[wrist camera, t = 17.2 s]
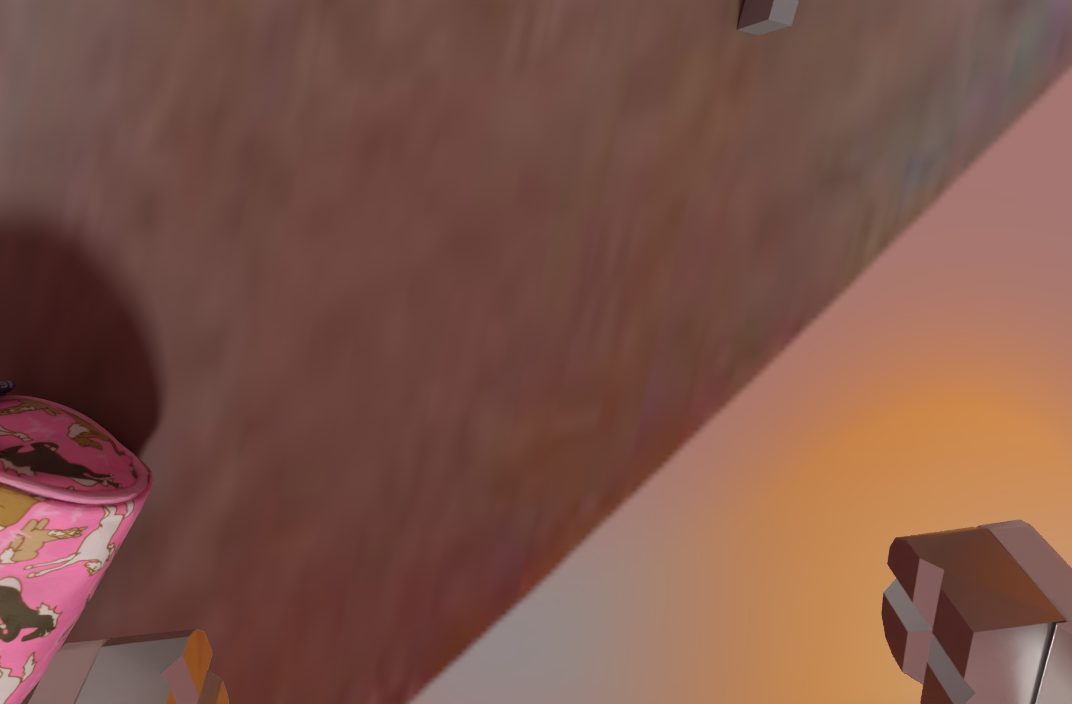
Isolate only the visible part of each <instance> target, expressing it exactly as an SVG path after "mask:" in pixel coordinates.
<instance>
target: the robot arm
mask: <svg viewBox="0 0 1072 704" xmlns="http://www.w3.org/2000/svg"><path fill="white" fill-rule="evenodd" d="M887 564H888V566H889V567H890V569H891V570H892V572H893V573H894V575H895V576H896V579H895V580H894V581H893V582H892V584H891V585H890V586H889V587H888V588H887V589H886V590H885V591H884V593H883V603H882V620H883V625H884V631H885V637H886V640H887V642H888V645H889V647H890V650H891V653H892V655H893V657H894V658H895V660H896V662H897V664H898V665H899V667H900V669H901V671H902V672H904V673H905V674H907V675H909V676H910V677H911V678H913V679H915V680H916V681H918V682H920V683H921V684H923V690H922V696H921V704H1072V568H1071V567H1070V566H1069V565H1068V564H1067V563H1066V562H1065V561H1064V560H1063V558H1062V557H1060V555H1059V554H1057V552H1056V551H1055V550H1054V549H1053V548H1052V547H1051V546H1050V545H1049V544H1048V543H1047V542H1046V540H1045V539H1044V538H1043V537H1042V536H1041V535H1040V534H1039V533H1038V532H1037V531H1036V530H1035V529H1034V528H1033V527H1032V526H1031V525H1030V524H1028V523H1026V522H1023V521H1022V520H1014V521H1007V522H1000V523H993V524H987V525H980V526H978V527H969V528H962V529H955V530H947V531H940V532H934V533H926V534H918V535H911V536H904V537H897V538H895V539H894V541H893V543H892V544H891V546H890V549H889V556H888V563H887ZM212 653H213V652H212V650H211V647H210V645H209V642H208V640H207V637H206V635H205V632H203V631H200V630H198V629H191V630H182V631H172V632H163V633H153V634H144V635H135V636H125V637H116V638H110V639H108V640H98V641H87V642H77V643H67V644H65V645H64V646H63V647H62V648H60V649H59V650H58V651H57V652H56V653H55V654H54V655H53V657H52V659H51V661H50V663H49V665H48V667H47V669H46V671H45V673H44V675H43V676H42V678H41V680H40V682H39V684H38V686H37V688H36V690H35V692H34V694H33V696H32V698H31V700H30V702H29V704H229V701H228V695H227V692H226V689H225V686H224V683H223V680H221V679H220V678H218V677H217V676H215V675H214V674H212V673H211V672H209V671H208V667H209V663H210V660H211V656H212Z"/></svg>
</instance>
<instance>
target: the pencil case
mask: <svg viewBox="0 0 1072 704" xmlns="http://www.w3.org/2000/svg"><path fill="white" fill-rule="evenodd" d="M14 387H15V384H14V382H12V381H10V380H7V381H2V382H0V704H21V702H22V701H23V700H24V699H25V697H26V696H27V695H28V694H29V692H30V691H31V690H32V689H33V688H34V687H35V685H36V684H37V683H38V682H39V681H40V679H41V678H42V676H43V675H44V673H45V671H46V669H47V667H48V665H49V663H50V661H51V659H52V657H53V655H54V654H55V653H56V652H57V651H58V650H59V649H60V648H61V646H62V645H63V643H64V641H65V639H66V638H67V636H68V634H69V633H70V631H71V629H72V628H73V626H74V624H75V623H76V621H77V620H78V618H79V617H80V615H81V613H82V611H83V609H84V608H85V606H86V605H87V603H88V602H89V600H90V599H91V597H92V596H93V594H94V592H95V590H96V588H97V586H98V584H99V583H100V581H101V579H102V577H103V576H104V574H105V573H106V571H107V569H108V567H109V565H110V564H111V562H112V560H113V558H114V557H115V555H116V553H117V551H118V549H119V547H120V545H121V544H122V542H123V540H124V539H125V537H126V535H127V533H128V532H129V530H130V528H131V526H132V525H133V523H134V521H135V519H136V517H137V516H138V514H139V513H140V511H141V509H142V506H143V504H144V502H145V500H146V498H147V496H148V494H149V492H150V490H151V486H152V474H151V471H150V469H149V468H148V467H147V466H146V465H145V464H144V463H143V462H142V461H141V460H140V459H139V458H138V457H137V456H136V455H134V454H133V453H132V452H131V451H130V450H128V449H127V448H125V447H124V446H123V445H122V444H120V443H119V442H118V441H117V440H116V439H115V438H114V437H113V436H112V435H111V434H110V433H109V432H108V431H107V430H105V429H104V428H103V427H102V426H100V425H99V424H98V423H96V422H95V421H93V420H92V419H91V418H89V417H87V416H85V415H84V414H82V413H80V412H78V411H76V410H74V409H72V408H69V407H66V406H64V405H61V404H58V403H55V402H52V401H48V400H45V399H41V398H36V397H30V396H19V395H6V394H5V393H8V392H10V391H11V390H12V389H13V388H14Z"/></svg>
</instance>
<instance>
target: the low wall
mask: <svg viewBox="0 0 1072 704" xmlns="http://www.w3.org/2000/svg"><path fill="white" fill-rule="evenodd" d="M798 1H799V0H745V2H744V6H743V10H742V13H741V17H740V20H739V24H738V28H737V30H740V31H743V32H747V33H751V34H754V35H761V34H765V33H768V32H772V31H775V30H779V29H782V28H786V27H789V26H792V22H793V19H794V15H795V12H796V8H797V5H798Z"/></svg>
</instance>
